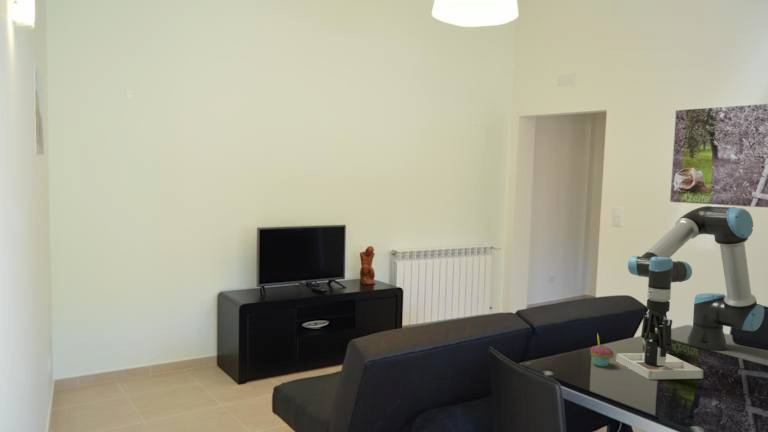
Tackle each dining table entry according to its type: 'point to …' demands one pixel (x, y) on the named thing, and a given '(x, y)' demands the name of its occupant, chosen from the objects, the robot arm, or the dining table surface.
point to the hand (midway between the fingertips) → (654, 361)
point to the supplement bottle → (652, 349)
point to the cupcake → (601, 354)
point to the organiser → (670, 370)
